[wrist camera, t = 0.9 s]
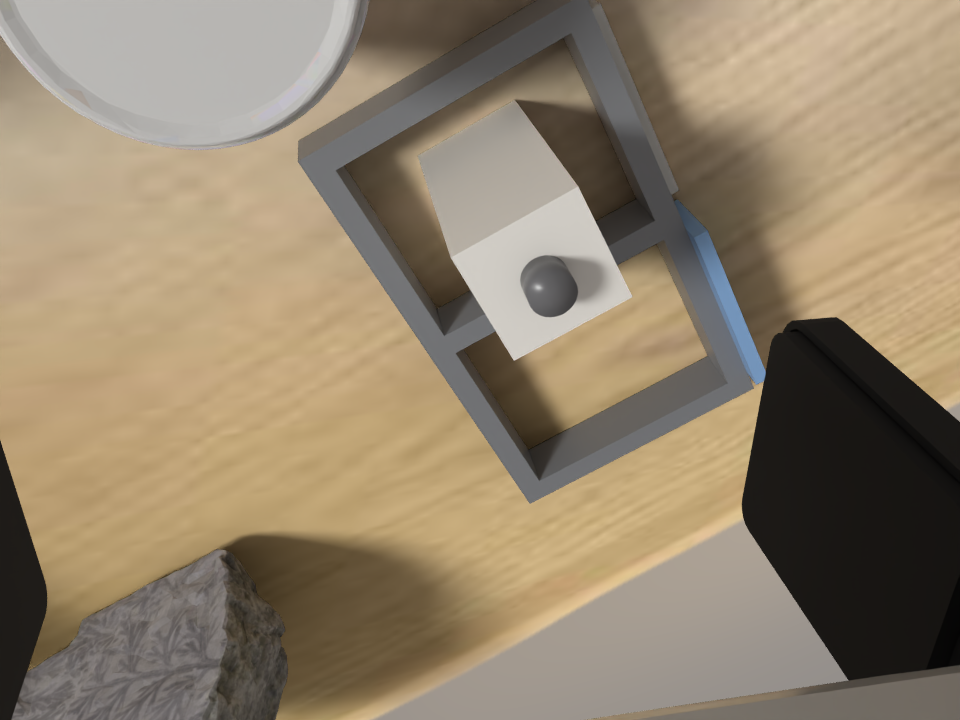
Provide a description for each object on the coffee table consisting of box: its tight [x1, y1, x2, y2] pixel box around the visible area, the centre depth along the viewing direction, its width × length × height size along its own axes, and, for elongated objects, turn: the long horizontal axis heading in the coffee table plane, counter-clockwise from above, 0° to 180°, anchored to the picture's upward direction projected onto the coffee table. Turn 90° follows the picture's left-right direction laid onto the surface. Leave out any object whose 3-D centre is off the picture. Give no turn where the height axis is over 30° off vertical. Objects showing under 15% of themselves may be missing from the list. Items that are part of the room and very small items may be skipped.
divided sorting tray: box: [298, 0, 766, 503], centre depth 38 cm, size 13×20×4 cm, turn 28°
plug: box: [418, 100, 632, 361], centre depth 33 cm, size 4×4×11 cm
